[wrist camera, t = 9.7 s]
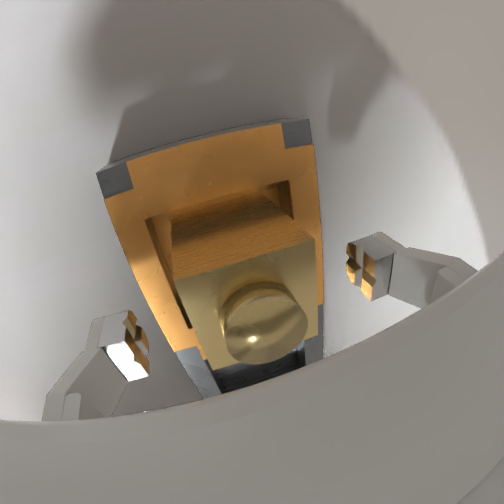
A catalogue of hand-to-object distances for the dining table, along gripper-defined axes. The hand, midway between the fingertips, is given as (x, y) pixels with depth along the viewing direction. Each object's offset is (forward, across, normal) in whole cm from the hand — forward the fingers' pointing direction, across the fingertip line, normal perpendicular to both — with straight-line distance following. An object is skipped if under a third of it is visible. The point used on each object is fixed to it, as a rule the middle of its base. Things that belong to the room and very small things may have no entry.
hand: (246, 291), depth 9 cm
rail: (+4, 0, -8) cm, 9 cm away
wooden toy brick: (+4, 0, 0) cm, 4 cm away
